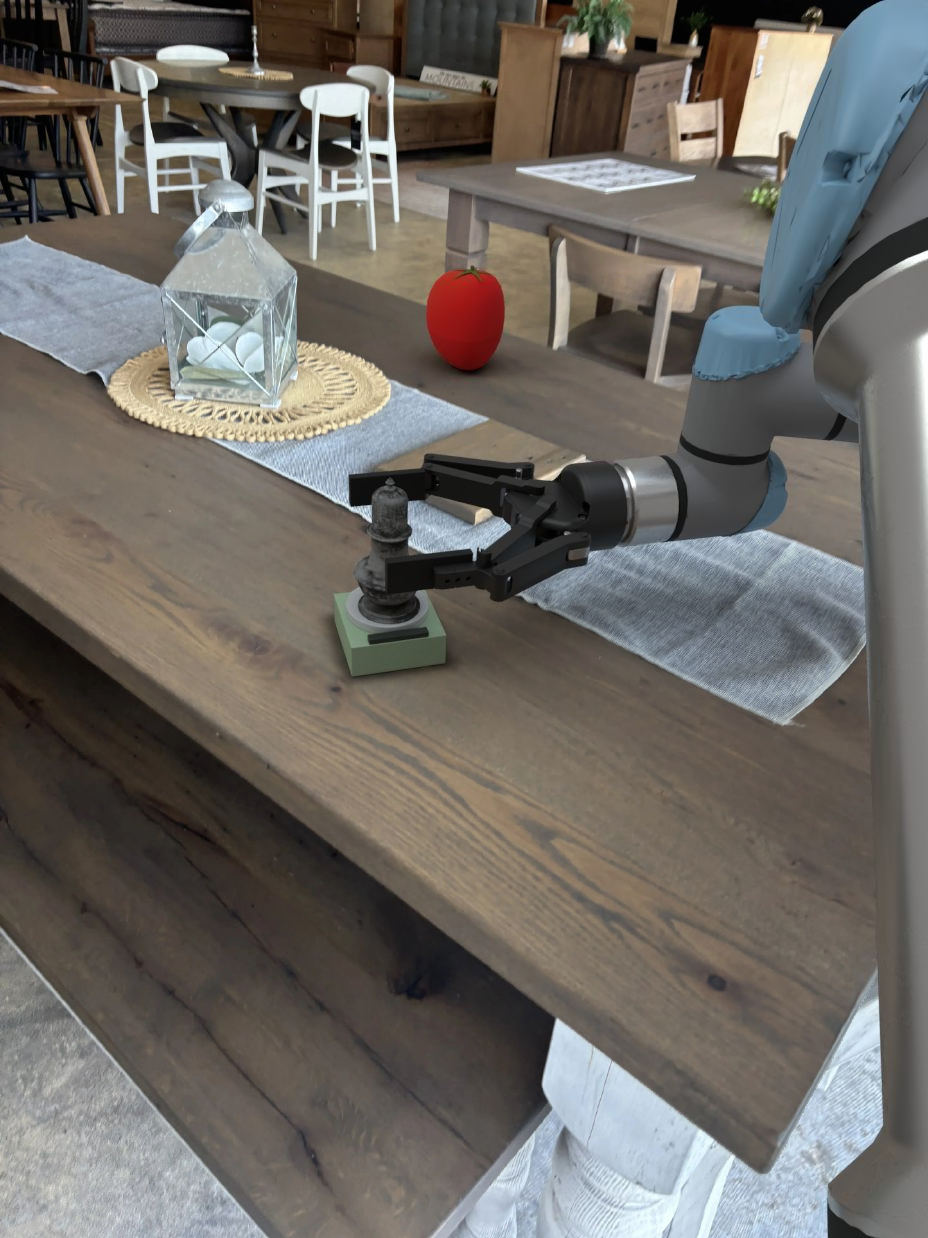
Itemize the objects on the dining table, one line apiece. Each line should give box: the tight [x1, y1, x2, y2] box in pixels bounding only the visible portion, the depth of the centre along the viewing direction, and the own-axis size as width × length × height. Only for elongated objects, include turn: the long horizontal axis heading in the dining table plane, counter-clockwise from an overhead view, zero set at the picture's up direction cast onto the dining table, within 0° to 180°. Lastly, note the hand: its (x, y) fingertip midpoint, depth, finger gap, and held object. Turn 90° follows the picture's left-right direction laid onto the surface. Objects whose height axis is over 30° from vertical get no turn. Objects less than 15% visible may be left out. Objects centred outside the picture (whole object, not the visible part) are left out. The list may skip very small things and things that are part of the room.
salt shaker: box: [352, 478, 420, 624], centre depth 73 cm, size 6×6×12 cm
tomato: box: [425, 264, 506, 371], centre depth 131 cm, size 13×11×14 cm
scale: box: [333, 586, 448, 677], centre depth 78 cm, size 8×8×4 cm
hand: (365, 530), depth 71 cm, fingers open, 13 cm apart
